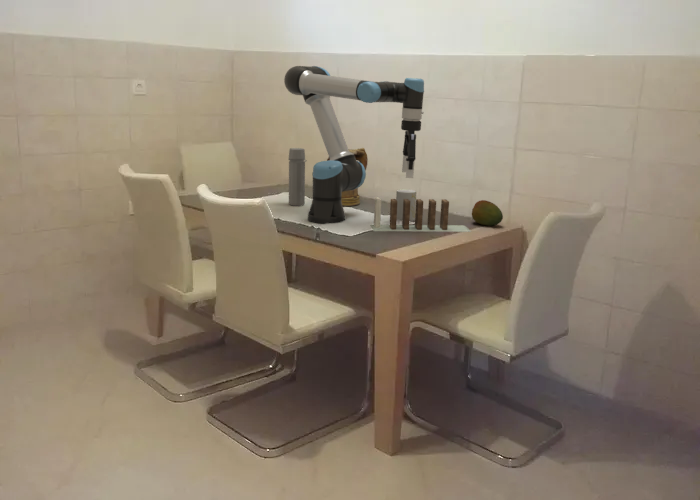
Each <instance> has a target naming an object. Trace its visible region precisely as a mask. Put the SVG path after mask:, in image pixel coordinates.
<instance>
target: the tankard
mask: <svg viewBox="0 0 700 500" xmlns="http://www.w3.org/2000/svg"><path fill="white" fill-rule="evenodd" d="M348 150H349V152H351V153H353V154H354V156H355V158H356V161H358V162H360V163H362V164H363V166H364V168H365V171H366V170H367V168H368V162H369V161H368V154H367V151H366V149H365V147H361V148H357V149H352V148H351V149H350V148H348ZM329 160H330V158H329V157H328V158H326V161H329ZM341 202H342V206H343V207H353V206H354V207H355V206H358V205H360V204H361V200H360V194H359V188H356V189H354V190H348V191H343V192H342V195H341Z"/></svg>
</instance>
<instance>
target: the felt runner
mask: <svg viewBox="0 0 700 500" xmlns="http://www.w3.org/2000/svg"><path fill="white" fill-rule="evenodd" d="M369 226H370V229H372V231H373V232H437V233H438V232H441V233H442V232H443V233H444V232H449V233H450V232H454V233H458V232H459V233H462V232H463V233H464V232H468V233H469V232H472V230H470V229H469V227H467V226H466V225H462V224H461V225H456V224H455V225H454V224H453V225H452V224H450V225H449V224H448V227H447V230H442V229H441V228H440V224H435V230H430V229H429V228H428V227H427V224H422V230H417V229H416V228H415V224H409V230H404V229H403V227H402V224H396V230H391V228H390V227H389V226H390V224H380V228H376V227H375V226H374V224H369Z"/></svg>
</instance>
